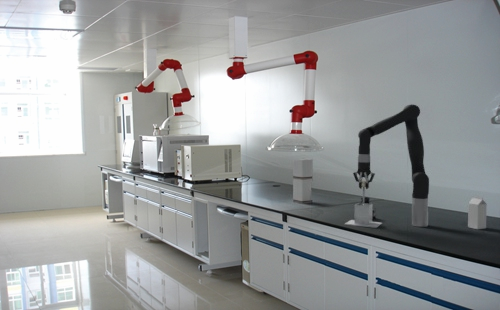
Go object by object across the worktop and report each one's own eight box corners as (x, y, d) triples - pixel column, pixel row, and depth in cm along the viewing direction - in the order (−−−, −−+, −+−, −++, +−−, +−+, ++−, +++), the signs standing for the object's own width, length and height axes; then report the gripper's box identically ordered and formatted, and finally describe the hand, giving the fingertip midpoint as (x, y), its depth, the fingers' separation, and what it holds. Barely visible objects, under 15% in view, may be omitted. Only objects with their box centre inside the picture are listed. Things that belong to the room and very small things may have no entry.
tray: (381, 223, 306) (381, 222, 306) (376, 227, 293) (376, 226, 293) (350, 220, 315) (350, 219, 315) (344, 224, 303) (344, 223, 303)
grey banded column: (312, 202, 389) (312, 159, 387) (302, 203, 383) (302, 159, 381) (303, 200, 398) (303, 158, 396) (293, 201, 392) (293, 159, 390)
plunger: (370, 207, 305) (371, 181, 304) (367, 209, 299) (368, 182, 298) (359, 206, 309) (359, 180, 308) (356, 208, 302) (356, 181, 301)
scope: (376, 198, 320) (363, 199, 317) (376, 219, 321) (362, 219, 318) (370, 196, 328) (357, 197, 325) (370, 216, 329) (357, 217, 326)
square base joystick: (372, 222, 306) (372, 203, 305) (368, 225, 298) (368, 206, 297) (358, 221, 310) (358, 202, 310) (354, 223, 302) (354, 204, 302)
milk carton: (477, 229, 287) (478, 198, 286) (467, 227, 294) (468, 196, 293) (486, 228, 290) (486, 197, 289) (476, 226, 297) (477, 195, 296)
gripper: (376, 161, 302) (376, 188, 303) (354, 160, 308) (354, 187, 310) (374, 162, 295) (373, 190, 296) (351, 161, 302) (351, 188, 303)
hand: (363, 188), depth 303 cm, fingers closed on plunger, 3 cm apart
